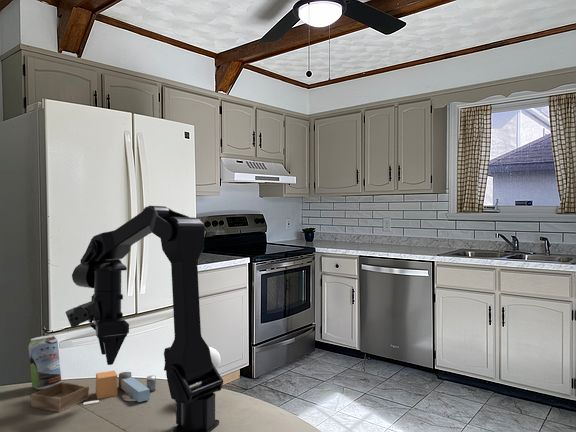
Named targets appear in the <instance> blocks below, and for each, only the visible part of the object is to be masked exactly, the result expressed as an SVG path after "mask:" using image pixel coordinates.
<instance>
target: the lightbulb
mask: <svg viewBox="0 0 576 432" xmlns="http://www.w3.org/2000/svg"><path fill="white" fill-rule="evenodd" d="M208 347H209V349H210V354H211V360H212V363H213V365H214V366H215V368H216V370H217V371H218V370H219V369H220V366H221V363H222V360H221V359H222V357H221V355H220V353H219V351H218V350H217V349H215V348H214V347H211V346H208ZM201 383H202V382H199V384H201Z"/></svg>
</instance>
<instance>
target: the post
mask: <svg viewBox="0 0 576 432" xmlns="http://www.w3.org/2000/svg"><path fill="white" fill-rule="evenodd" d="M156 379H157V377H156V375H148V376H146V387H147V388H149V389H150V393H154V392H155V391H156V390H157V389H156V386H157V383H156V382H157V381H156ZM153 391H154V392H153Z"/></svg>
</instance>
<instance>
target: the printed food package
mask: <svg viewBox="0 0 576 432" xmlns="http://www.w3.org/2000/svg"><path fill="white" fill-rule="evenodd" d="M59 353H60V352H59V343H58V339H57V338H56V336H55V335H54V334H48V335H41V336H37V337H34V338H30V342H29V344H28V355H29V366H30V377H31V387H32V388H34V389H35V390H43V389H46V388H48V387H51V386H53V385H56V384H58V383H60V382H62V381H61V380H62V375H61V374H62V372H61V363H60V354H59Z"/></svg>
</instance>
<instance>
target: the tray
mask: <svg viewBox="0 0 576 432" xmlns="http://www.w3.org/2000/svg"><path fill="white" fill-rule="evenodd" d="M89 387H90V386H88V385H82V384H75V383H69V382H65V381H63V382H62V381H60V382H58V384H56V385H53V386H51V387H48V388H45V389H40V390H39V391H37V392H36V391H35V392H34V393H31V394H30V407H31V408H35V409H41V410H46V411H51V412H58V413H60V412H62V411H65V410H67V409H69V408H71V407H73V406H76V405H78V404H79V403H81V402H83V401H86V400H88V399H89V396H90V395H89V391H90V390H89V389H90V388H89Z"/></svg>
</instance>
